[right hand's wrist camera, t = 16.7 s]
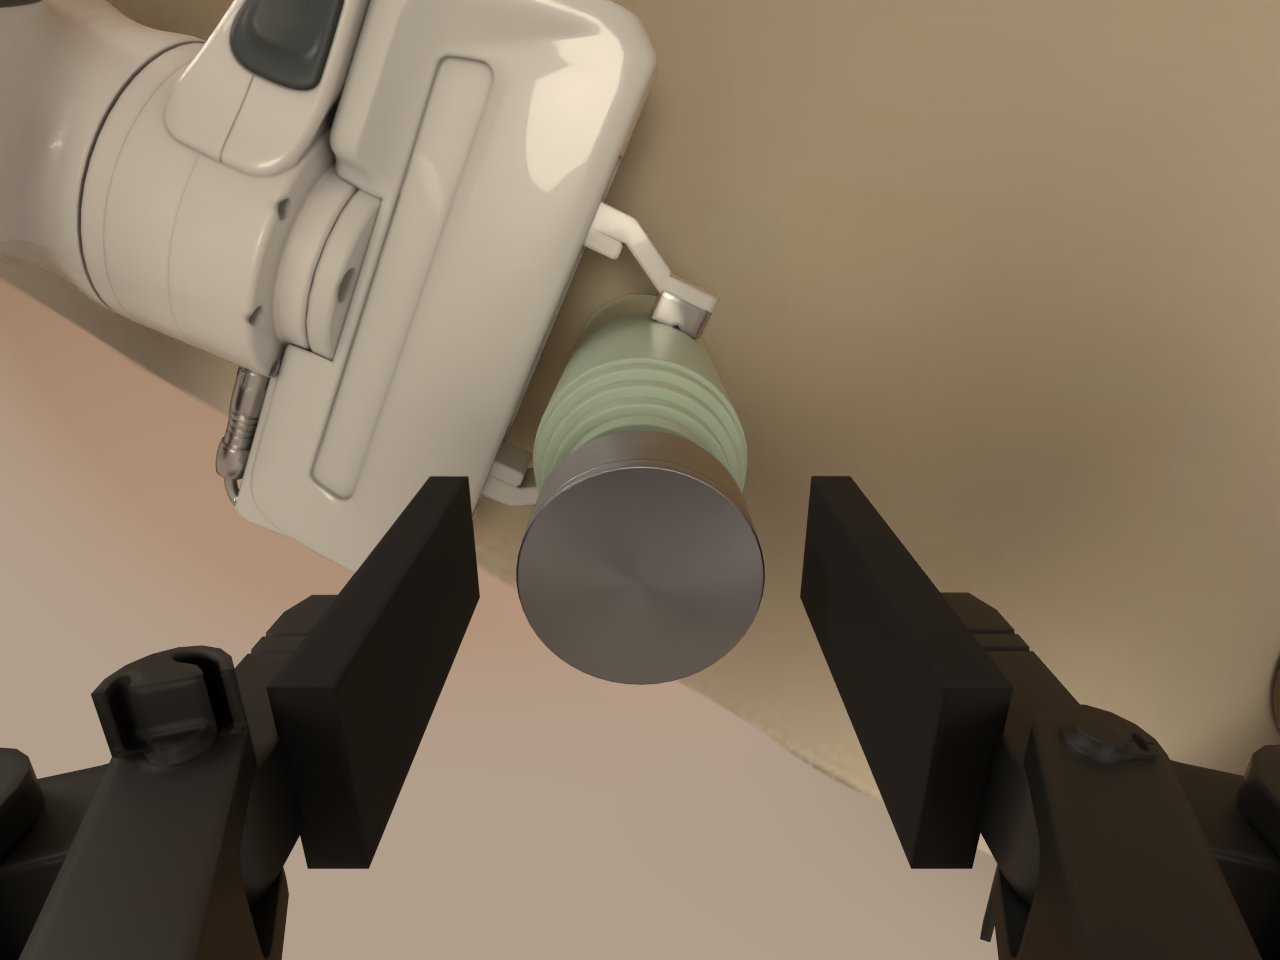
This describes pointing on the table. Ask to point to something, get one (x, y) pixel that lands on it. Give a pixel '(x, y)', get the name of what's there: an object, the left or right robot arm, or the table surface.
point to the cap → (640, 559)
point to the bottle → (638, 390)
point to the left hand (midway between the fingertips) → (664, 407)
